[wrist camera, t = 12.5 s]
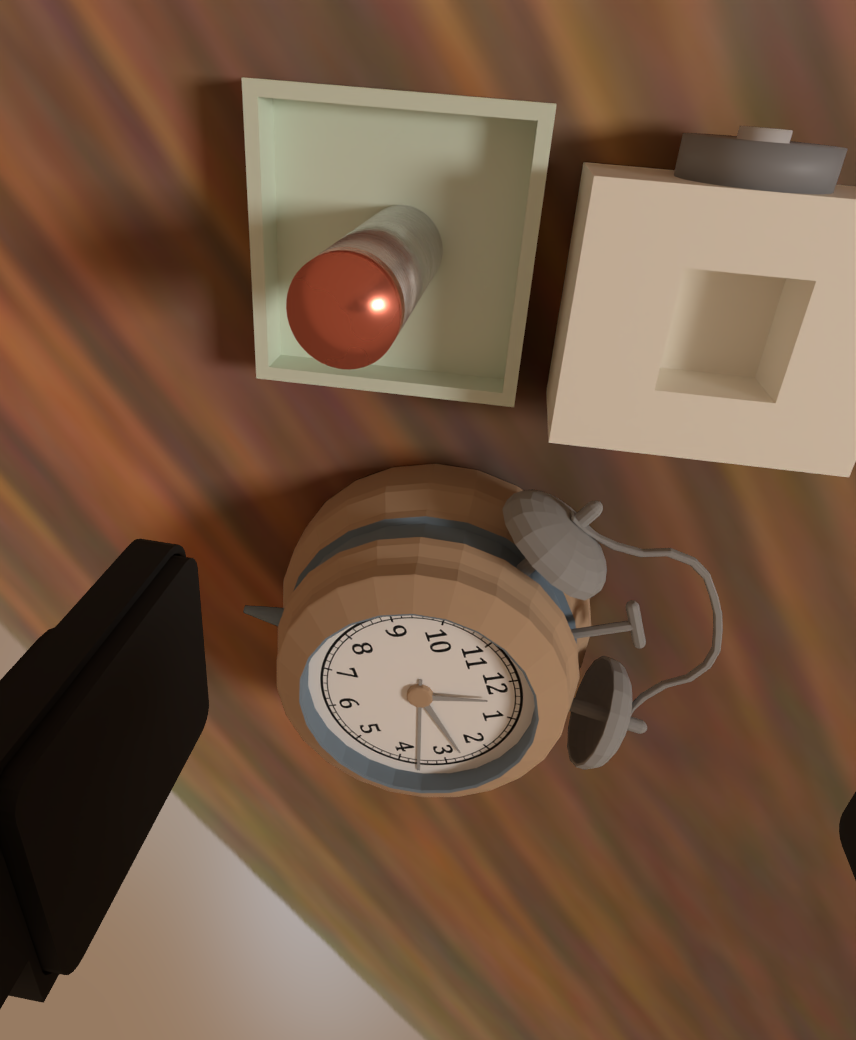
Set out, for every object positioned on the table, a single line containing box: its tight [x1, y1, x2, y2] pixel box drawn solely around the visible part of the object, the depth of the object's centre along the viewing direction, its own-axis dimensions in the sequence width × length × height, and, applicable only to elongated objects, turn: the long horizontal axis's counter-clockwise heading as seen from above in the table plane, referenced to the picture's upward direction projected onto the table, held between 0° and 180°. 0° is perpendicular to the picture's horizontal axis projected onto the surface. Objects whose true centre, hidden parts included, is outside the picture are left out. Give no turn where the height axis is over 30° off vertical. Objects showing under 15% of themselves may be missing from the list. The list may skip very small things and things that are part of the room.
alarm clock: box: [244, 464, 723, 797], centre depth 38 cm, size 17×9×23 cm
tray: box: [242, 77, 556, 407], centre depth 32 cm, size 12×12×2 cm
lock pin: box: [286, 205, 443, 370], centre depth 27 cm, size 4×4×11 cm
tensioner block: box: [546, 126, 856, 477], centre depth 29 cm, size 12×12×6 cm
